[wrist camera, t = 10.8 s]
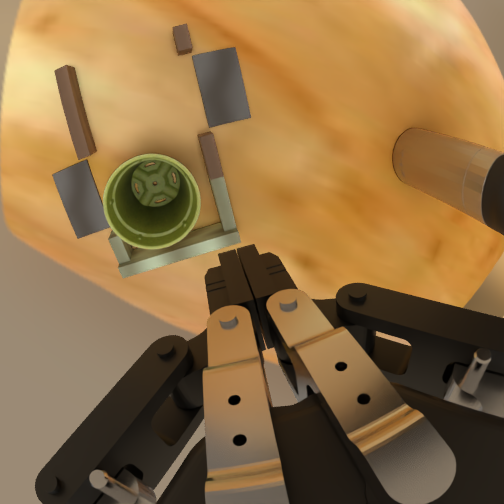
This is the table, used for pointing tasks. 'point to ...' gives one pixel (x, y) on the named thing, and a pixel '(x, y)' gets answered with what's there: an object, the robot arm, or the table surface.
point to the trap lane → (218, 112)
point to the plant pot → (151, 201)
